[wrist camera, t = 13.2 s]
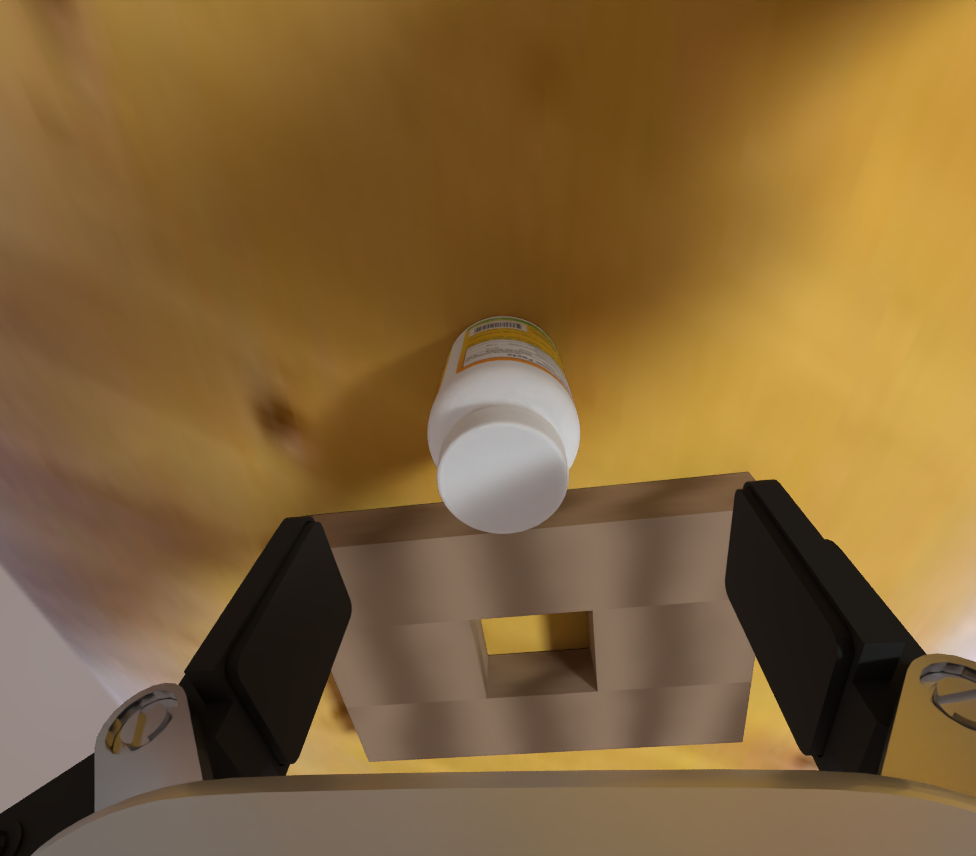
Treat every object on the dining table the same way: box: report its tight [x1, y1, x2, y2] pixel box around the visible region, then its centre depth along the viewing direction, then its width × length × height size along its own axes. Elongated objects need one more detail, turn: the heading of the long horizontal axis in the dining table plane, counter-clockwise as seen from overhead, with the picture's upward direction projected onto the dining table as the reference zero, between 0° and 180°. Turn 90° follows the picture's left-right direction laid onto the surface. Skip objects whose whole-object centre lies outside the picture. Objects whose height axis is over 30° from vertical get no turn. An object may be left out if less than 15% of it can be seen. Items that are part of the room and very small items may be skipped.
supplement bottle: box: [427, 316, 580, 534], centre depth 19 cm, size 5×5×10 cm
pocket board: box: [311, 472, 756, 762], centre depth 29 cm, size 24×18×3 cm
